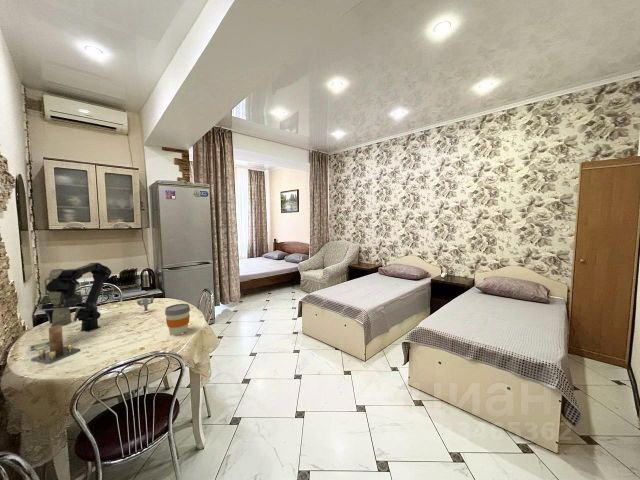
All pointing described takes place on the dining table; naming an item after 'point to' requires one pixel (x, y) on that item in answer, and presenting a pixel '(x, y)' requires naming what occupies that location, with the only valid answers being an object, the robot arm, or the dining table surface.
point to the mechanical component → (145, 302)
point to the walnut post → (56, 339)
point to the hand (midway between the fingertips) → (63, 322)
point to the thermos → (59, 314)
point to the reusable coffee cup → (177, 318)
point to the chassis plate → (47, 360)
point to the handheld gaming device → (38, 347)
